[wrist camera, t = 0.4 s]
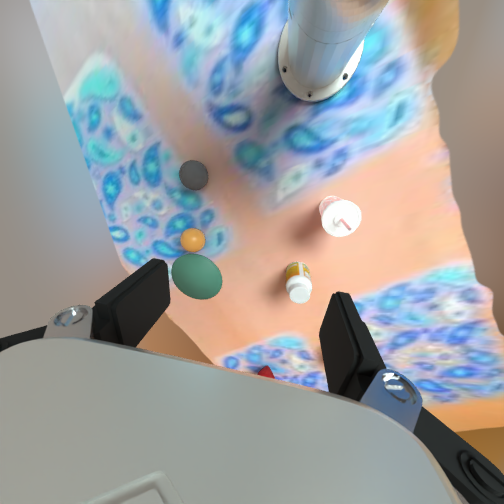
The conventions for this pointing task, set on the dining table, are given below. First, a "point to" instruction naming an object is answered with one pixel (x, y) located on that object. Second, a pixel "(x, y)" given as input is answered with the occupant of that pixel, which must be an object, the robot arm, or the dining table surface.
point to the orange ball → (192, 240)
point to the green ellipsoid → (196, 276)
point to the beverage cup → (339, 216)
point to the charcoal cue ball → (193, 175)
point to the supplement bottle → (298, 282)
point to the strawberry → (266, 372)
